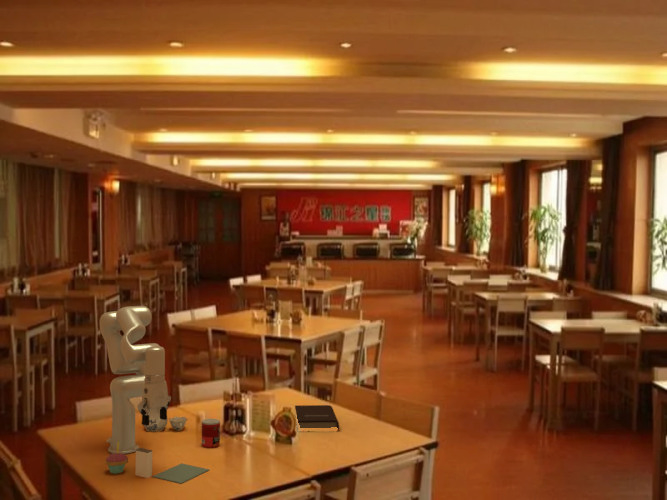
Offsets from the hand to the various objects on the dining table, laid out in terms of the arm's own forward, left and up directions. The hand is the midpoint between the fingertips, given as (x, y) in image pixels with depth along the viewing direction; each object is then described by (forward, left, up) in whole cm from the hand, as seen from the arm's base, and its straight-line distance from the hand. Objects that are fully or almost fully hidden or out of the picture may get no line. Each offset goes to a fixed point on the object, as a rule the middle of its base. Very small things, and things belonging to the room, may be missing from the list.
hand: (154, 422), depth 276 cm
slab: (-1, -5, -20) cm, 20 cm away
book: (+21, +93, -21) cm, 97 cm away
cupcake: (-13, -7, -20) cm, 25 cm away
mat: (+10, +4, -20) cm, 23 cm away
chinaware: (-39, +48, -20) cm, 65 cm away
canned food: (-2, +38, -20) cm, 43 cm away
